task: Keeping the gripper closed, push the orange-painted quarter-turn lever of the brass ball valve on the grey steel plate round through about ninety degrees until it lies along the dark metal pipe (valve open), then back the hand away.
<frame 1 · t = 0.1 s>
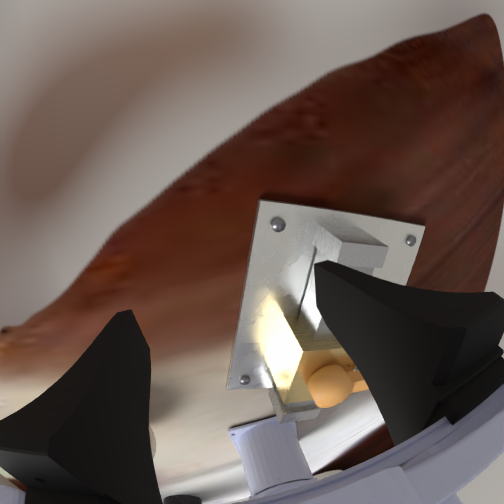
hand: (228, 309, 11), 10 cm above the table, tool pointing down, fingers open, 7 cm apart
pipe valve: (303, 339, 26), resting on mounting plate
lever: (375, 378, 22), point 6 cm above the table, hinge at 0.0°
mounting plate: (327, 310, 25), on the table
travel mug: (182, 499, 39), on the table
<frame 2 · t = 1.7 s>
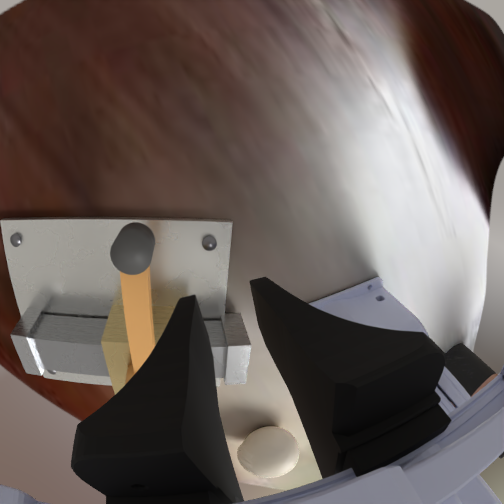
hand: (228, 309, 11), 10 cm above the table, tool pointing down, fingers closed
pipe valve: (152, 330, 23), resting on mounting plate
lever: (140, 333, 15), point 6 cm above the table, hinge at 0.0°
baseball: (261, 430, 32), on the table
mounting plate: (113, 314, 21), on the table
travel mug: (448, 360, 37), on the table
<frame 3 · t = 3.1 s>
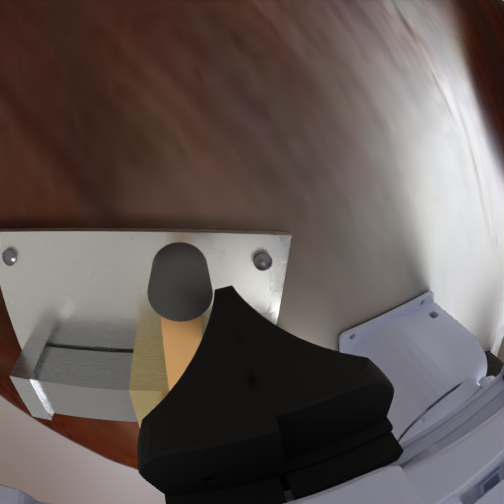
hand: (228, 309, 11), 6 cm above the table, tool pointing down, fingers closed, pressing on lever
pipe valve: (184, 362, 19), resting on mounting plate
lever: (185, 385, 11), point 6 cm above the table, hinge at 1.2°, touching gripper
mounting plate: (135, 346, 17), on the table
travel mug: (475, 368, 34), on the table
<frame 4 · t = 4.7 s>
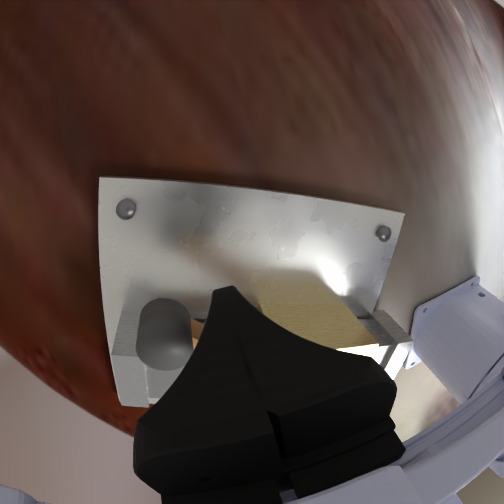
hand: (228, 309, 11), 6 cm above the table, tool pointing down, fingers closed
pipe valve: (292, 334, 20), resting on mounting plate
lever: (268, 379, 12), point 6 cm above the table, hinge at 59.2°, touching gripper
mounting plate: (250, 317, 18), on the table
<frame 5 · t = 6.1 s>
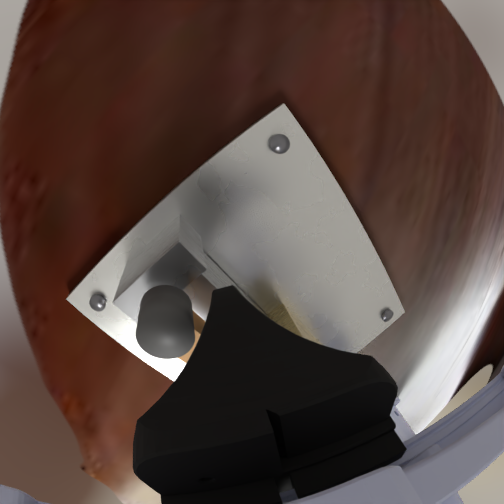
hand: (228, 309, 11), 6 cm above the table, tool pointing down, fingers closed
pipe valve: (271, 347, 20), resting on mounting plate
lever: (252, 385, 12), point 6 cm above the table, hinge at 89.7°, touching gripper
mounting plate: (261, 308, 18), on the table
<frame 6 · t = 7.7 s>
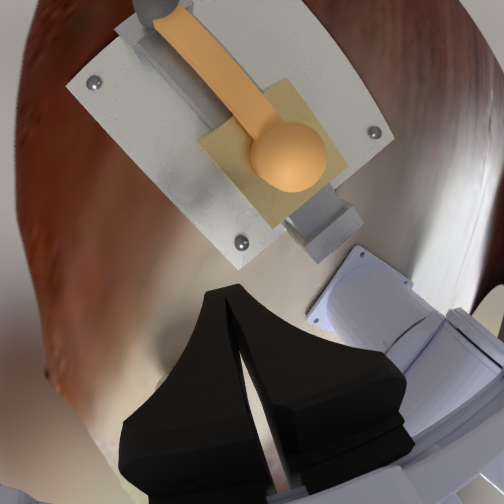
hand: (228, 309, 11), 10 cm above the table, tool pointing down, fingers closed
pipe valve: (257, 147, 19), resting on mounting plate
lever: (227, 79, 11), point 6 cm above the table, hinge at 89.8°
mounting plate: (244, 98, 17), on the table
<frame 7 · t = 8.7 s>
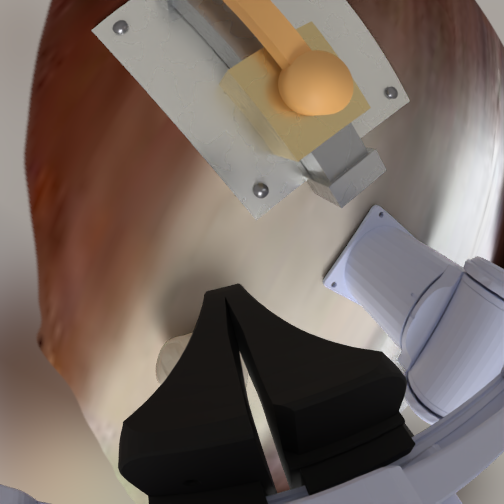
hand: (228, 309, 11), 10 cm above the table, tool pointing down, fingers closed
pipe valve: (278, 96, 18), resting on mounting plate
lever: (258, 11, 10), point 6 cm above the table, hinge at 89.8°
baseball: (197, 344, 24), on the table
mounting plate: (267, 49, 16), on the table
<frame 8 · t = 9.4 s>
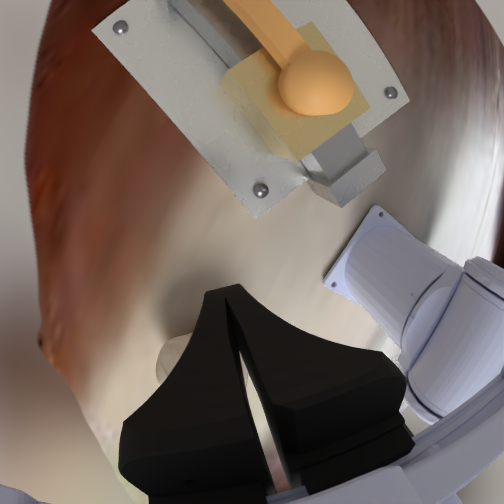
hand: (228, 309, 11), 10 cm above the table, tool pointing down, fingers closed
pipe valve: (278, 96, 18), resting on mounting plate
lever: (258, 11, 10), point 6 cm above the table, hinge at 89.8°
baseball: (197, 344, 24), on the table
mounting plate: (267, 49, 16), on the table
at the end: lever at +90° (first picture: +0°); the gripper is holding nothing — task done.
